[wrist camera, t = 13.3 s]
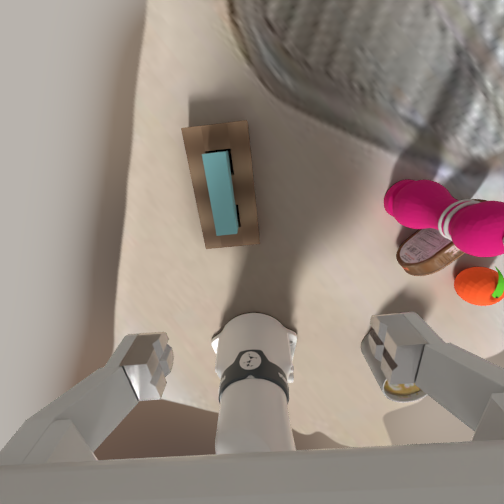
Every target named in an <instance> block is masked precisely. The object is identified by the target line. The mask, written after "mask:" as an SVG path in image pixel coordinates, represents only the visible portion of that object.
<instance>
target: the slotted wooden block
mask: <svg viewBox="0 0 504 504" xmlns="http://www.w3.org/2000/svg"><path fill="white" fill-rule="evenodd" d="M181 130H182V135H183V140H184V144H185V149H186V154H187V159H188V164H189V169H190V174H191V179H192V183H193V188H194V193H195V198H196V203H197V208H198V213H199V218H200V222H201V227H202V232H203V237H204V242H205V247H206V249H212V248H222V247H232V246H242V245H253V244H260V239H259V227H258V218H257V208H256V198H255V188H254V179H253V169H252V159H251V149H250V140H249V130H248V122H247V120H244V121H236V122H228V123H220V124H212V125H204V126H196V127H188V128H181ZM229 148H231V156H232V163H233V171H234V172H232V173H231V178H232V185H233V192H234V199H235V205H238V208H239V216H240V220H238V232H237V234H230V235H221V236H217V235H216V229H215V224H214V218H213V213H212V208H211V202H210V197H209V191H208V186H207V180H206V175H205V169H204V164H203V158H202V154H206V153H210V151H213V150H221V149H229Z"/></svg>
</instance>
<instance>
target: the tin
mask: <svg viewBox="0 0 504 504" xmlns="http://www.w3.org/2000/svg"><path fill="white" fill-rule="evenodd" d="M471 200H475V201H479V202H486V200H481V199H471ZM463 254H465V252H463V251H461V250H460V249H458V248H457V247H456V246H455V244H454V243H453V241H451V240H449V239H447V238H445V237H443V236H442V235H441V234H440V232H439V230H437V229H434V228H426V229H419V230H418V231H417V232H416V233H414V234H413V235H412V236H410V237H409V238H408V239H407V240H406V241H404V242H403V243H402V245H401V246H400V247H399V249H398V251H397V255H396V258H397V261H398V263H399V264H400V265H401V266H402V267H403V268H404V270H405V271H406V272H407V273H408V274H411V275H414V276H425V275H429V274H433V273H435V272H438V271H440V270H441V269H443V268H445V267H446V266H448V265H449V264H450V263H452V262H453V261H455V260H456V259H458V258H459V257H460V256H462V255H463Z"/></svg>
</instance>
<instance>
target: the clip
mask: <svg viewBox="0 0 504 504" xmlns="http://www.w3.org/2000/svg"><path fill="white" fill-rule="evenodd" d="M202 158H203V164H204V169H205V175H206V180H207V186H208V191H209V197H210V202H211V208H212V213H213V218H214V224H215V229H216V235H217V236H221V235H230V234H237V232H238V220H237V217H238V215H237V208H236V205H235V199H234V192H233V185H232V178H231V170H230V168H231V165H230V158H229V153H228V151H222V152H214V153H206V154H202Z"/></svg>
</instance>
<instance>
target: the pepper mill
mask: <svg viewBox="0 0 504 504" xmlns="http://www.w3.org/2000/svg"><path fill="white" fill-rule="evenodd" d="M384 207H385V210H386V211H387V213H388V214H390V215H392V216H393V217H395V219H396V220H397V221H398V222H399V223H400V224H402V225H403V226H406V227H408V228H413V229H426V228H434V229H437V230H439V232H440V234H441V235H442V236H443V237H445V238H447V239H449V240H451V241H453V243H454V244H455V246H456V247H457V248H458V249H460V250H461V251H463V252H465V253H467V254H470V255H473V256H477V257H493V256H498V255H501V254H504V202H499V201H486V202H479V201H475V200H471V199H464V200H460V201H459V200H457V199H455V198H453V197H452V196H451V194H450V193H449V191H448V190H447V189H446V188H445V187H444V186H442V185H441V184H439V183H437V182H434V181H431V180H418V181H415V180H409V179H408V180H402V181H399V182H397V183H396V184H394V185H393V186H392V187H391V188H390V189H389V190H388V191H387V193H386V195H385V198H384Z"/></svg>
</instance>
